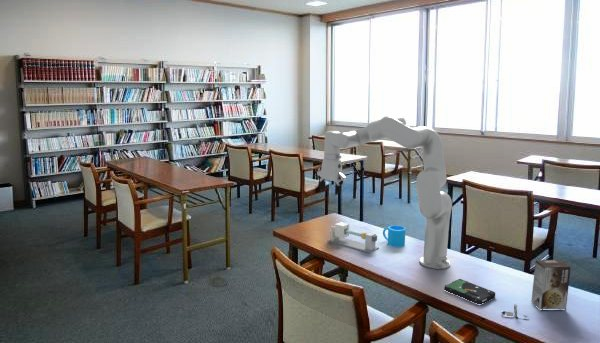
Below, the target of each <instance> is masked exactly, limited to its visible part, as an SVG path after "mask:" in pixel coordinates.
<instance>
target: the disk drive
mask: <svg viewBox="0 0 600 343" xmlns="http://www.w3.org/2000/svg"><path fill="white" fill-rule="evenodd" d="M444 290H446V291H448V292H450V293H453V294H455V295H458V296H460V297H463V298H465V299H467V300H469V301H472V302H474V303H477V304H482V303H484V304H486V303H488V302H490V301H492V300H493V298H494V299H495V298H496V292H495V291H493V290H490V289H488V288H485V287H482V286H480V285H476V284H475V283H473V282H469V281H467V280H464V279H461V278H459V279H457V280H453V281H452V282H450V283H448V284H445V285H444V287H443V291H444ZM446 291H445V292H446ZM448 292H447V293H448ZM450 293H449V294H450ZM453 294H452V295H453ZM455 295H454V296H455ZM458 296H457V297H458ZM460 297H459V298H460ZM465 299H464V300H465ZM491 299H492V300H491ZM467 300H466V301H467ZM489 300H490V301H489ZM469 301H468V302H469ZM487 301H488V302H487ZM472 302H471V303H472ZM485 302H486V303H485ZM474 303H473V304H474ZM477 304H476V305H477ZM482 305H483V304H482Z"/></svg>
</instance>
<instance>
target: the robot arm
mask: <svg viewBox="0 0 600 343" xmlns="http://www.w3.org/2000/svg"><path fill="white" fill-rule="evenodd" d="M387 138H388V139H389V140H391V141H392V142H395V143H396V144H398V145H400V146H402V147H403V148H406V149H409V150H414V149H417V148H422V164H423V169H422V170H421V171H420V172H419V173H418V174H417V176H416V180H415V186H416V194H417V195H416V196H417V203H418V204H417V205H418V209H419V212H420V214H421V215H422V216H423V217H424V218H425V224H424V225H425V228H424V241H423V242H424V244H423V256H421V257H420V258H419V264H420V265H421V266H423V267H425V268H429V269H433V270H434V269H435V270H444V269H447V268H449V267H450V265H451V262H450V261H449V259H448V256H447V255H448V243H449V242H448V241H449V231H450V219H451V213H452V208H453V202H452V198H451V196H450V194H448V193H447V192H445V191H443V190H442V191H441V188H443V187H444V186H446V183H447V182H448V181H447V179H448V178H447V171H446V170H447V169H446V162H445V154H444V147H443V142H442V141H443V140H442V138H441V136H440V134H438V132H437V131H436V130H434V129H433V128H431V127H428V126H423V125H422V126H421V125H420V126H415V127H410V126H408V125H407V121H406V119H405V118H404V117H403V116H402V115H399V114H394V115H393V114H391V115H385V116H384V117H382V118H380V119H378V120H375V121H371V122H369V123H368V124H367V125H366V126H365V127H362V128H358V129H355V130H350V131H344V132H340V131H338V130H327V131H325V133H324V148H323V150H324V152H323V153H324V154H323V159H322V162H321V168H320V170H317V171H316V174H317V178H318V181H319V182H320V186H319V187H320V188H319V189H320V191H322V190H325V189H326V184H327V183H326V180H328V181H331V182H332V181H333V182H335V184H336V185H335V194H337V195H338V194H341V193H342V185H343V184H344V183H345V181H346V180H347V176H346V175H344V174H343V163H342V160H341V159H342V156H341V149H342V150H343V149H350V148H356V147H358V146H361V145H365V144H368V143H371V142H373V143H374V142H377V141H380V140H384V139H387Z"/></svg>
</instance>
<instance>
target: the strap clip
mask: <svg viewBox="0 0 600 343" xmlns="http://www.w3.org/2000/svg"><path fill="white" fill-rule="evenodd" d="M513 311H514V312H512V311H507V310H503V312H505V313H506V315H507V316H513V314H514V313H515V314H514V317H515V316H516V317H517V314H518V305H517V304H514V305H513ZM505 313H504V314H505ZM516 317H515V318H516Z"/></svg>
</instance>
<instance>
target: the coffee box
mask: <svg viewBox="0 0 600 343" xmlns="http://www.w3.org/2000/svg"><path fill="white" fill-rule="evenodd" d="M534 263H535V264H534V272H533V273H534V275H533V282H532V283H533V284H532V294H531V301H530V302H532V303H533V304H534V305H535V306H537V307H538V308H539V309H542V310H543V309H566V310H567V303H568V296H569V295H568V294H569V287H570V286H569V285H570V277H571V269H572V268H571V267H572V266H570V265H568V264H567V263H566V262H564V261H563V260H562V259H536V260H535V262H534ZM532 303H531V304H532ZM533 304H532V305H533ZM534 305H533V306H534ZM537 307H536V308H537ZM538 308H537V309H538ZM539 309H538V310H539Z"/></svg>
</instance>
